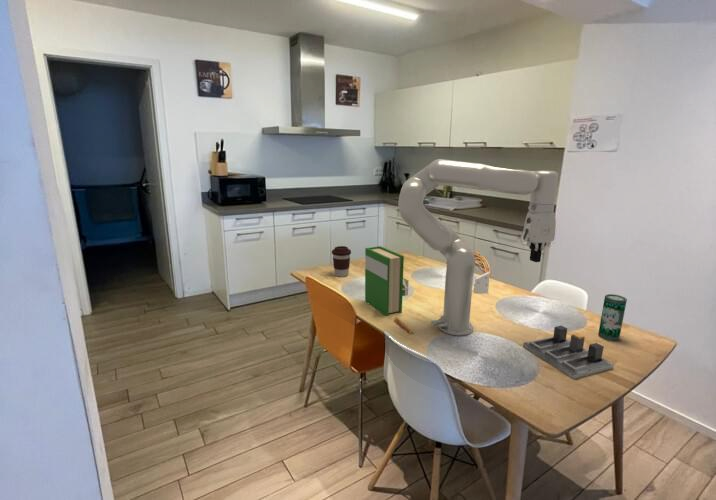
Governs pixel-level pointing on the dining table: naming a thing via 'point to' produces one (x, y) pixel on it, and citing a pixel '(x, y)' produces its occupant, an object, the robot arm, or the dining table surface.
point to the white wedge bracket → (482, 283)
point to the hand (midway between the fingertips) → (534, 261)
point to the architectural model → (405, 286)
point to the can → (612, 317)
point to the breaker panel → (569, 355)
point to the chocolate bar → (403, 326)
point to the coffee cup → (341, 261)
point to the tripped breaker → (576, 342)
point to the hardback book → (384, 279)
